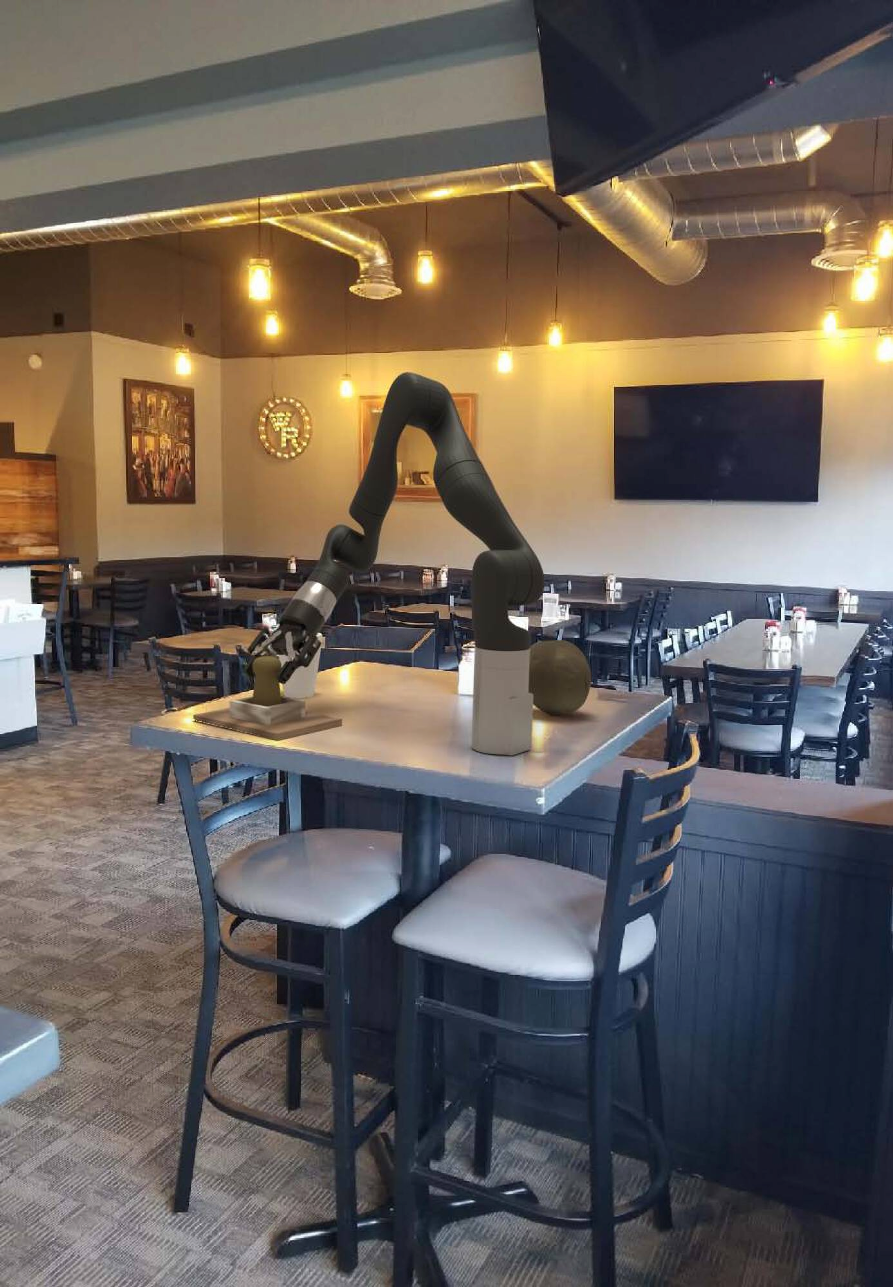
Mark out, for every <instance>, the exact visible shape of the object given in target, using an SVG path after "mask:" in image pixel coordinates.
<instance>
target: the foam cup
mask: <svg viewBox="0 0 893 1287" xmlns="http://www.w3.org/2000/svg"><path fill="white" fill-rule="evenodd" d="M316 636H317V637H318V639H319V640H320V641H321V643H322V644H321V646H320V648H319V649H318V651H317V653H316V654H315V656H314V658H313V659H312V661H311V663H310V665H309V666H308V667H304V666H300V668H298V669H296V670H295V671H294V673H293V674H292V676H291V677H290V679H289V680H288V681H287V682H286V683H285V684H282V693H283V696H284V697H289V698H294V699H307V698H306V697H308V698H312V697H314V696H315V691H316V684H317V678H318V673H319V672H318V671H319V664H320V656H321V649H322V646H323V634H322V633H321V632H318V634H317V635H316ZM306 657H307V654H306V655H305V658H306ZM278 659H279V660H280V662H281V665H282V666H283V665H284V663H285V662H286V661H289V660H288V656H286V655H278ZM282 666H281V668H282Z"/></svg>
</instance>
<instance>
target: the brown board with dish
mask: <svg viewBox="0 0 893 1287" xmlns="http://www.w3.org/2000/svg"><path fill="white" fill-rule="evenodd" d="M252 699H253V696H249V697H244V698H238V699H231V700H229V707H228V708H227V707H226V708H222V709H217V710H216V709H215V710H212V711H206V712H201V713H195V714H193V715H192V716H193V718H192V719H195V720H197V721H202V722H205V723H210V724H214V725H217V726H223V727H227V728H232V729H234V730H239V731H242V732H247V733H252V734H255V735H259V736H258V737H260V736H261V737H260V738H264V737H266V738H265V739H268V738H269V739H270V740H273V739H274V740H273V741H282V739H283V740H286V739H291V738H295V737H298V736H297V735H300V736H303V734H304V735H306V734H305V733H308V734H312V733H317V732H320V731H319V730H321V731H324V729H325V730H328V729H327V728H329V729H332V728H333V729H334V728H337V727H341V726H343V718H339V717H334V716H329V715H324V714H319V713H314V712H309V711H306V700H304V699H300V698H290V697H285V696H284V695H281V700H282V704H278V705H273V706H268V707H265V706H261V705H256V704H252ZM336 726H337V727H336ZM234 730H233V731H234ZM242 732H241V733H242ZM311 732H312V733H311ZM247 733H246V734H247ZM255 735H254V736H255ZM290 737H291V738H290Z"/></svg>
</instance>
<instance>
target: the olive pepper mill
mask: <svg viewBox="0 0 893 1287" xmlns="http://www.w3.org/2000/svg"><path fill="white" fill-rule="evenodd" d="M252 666H253V672H254V673H255V675H254V685H253V693H252V697H253V699H252V704H256V705H261V706H265V707H268V706H273V705H278V704H282V700H281V696H282V692H281V683H280V682H279V681H278V680H277V679H276V675H277V674H278V672H279V671H280V669H281V666H282V665H281V662H280V660H279V657H277V656H275V657H271V656H263V657H258V658H256V659H255V660H254V661H253V665H252Z"/></svg>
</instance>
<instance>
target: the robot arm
mask: <svg viewBox="0 0 893 1287" xmlns="http://www.w3.org/2000/svg"><path fill="white" fill-rule="evenodd" d="M381 411H382V412H381V414H380V418H379V421H378V426H377V428H376V433H375V436H374V439H373V444H372V448H371V451H370V456H369V459H368V461H367V462H368V463H367V465H366V468H365V471H364V474H363V476H362V479H361V480H360V483H359V485H358V486H357V487H358V488H357V490H356V492H355V495H354V496H353V498H352V501H351V503H350V504H349V509H348V513H349V516H350V517H351V518H352V519H353V520H354V521H355V522H356V523H357V524H359V526H360V527H361V528H362V529H363V530H362V531H363V533H361V532H359V531H357V530H356V529H353V528H352V527H350V526H347V525H345V524H337V525H335V526H333V527H332V528H330V530H329V531H328V533H327V535H326V537H325V540H324V544H323V547H322V551H321V554H320V557H319V558H318V562H317V563H316V566H315V567H314V569H313V570H312V572H311V574H310V575H309V577H308V578H307V580H306V581H305V582H304V584H303V585H301V587H299V589H298V590H297V592H296V593H295V595H294V596H293V597H292V599H291V600H290V602H289V603H288V605H287V606H286V607H285V609H284V610H283V612H282V614H281V615H280V617H279V625H278V627H277V628H276V629H274V630H270V629H269V628H268V627H267V626H265V627H262V629H261V630H260V632H258V634H257V635H256V637H255V638H254V639H253V641H252V642H251V643H250V645H249V646H248V647H247V649H246V650H247V652H248V653H249V655H250V656H251V657H250V659H249V660H248V662H247V663H246V664H245V666H244V668H243V674H244V675H245V676H246V678H250V679H253V677H255V676H256V675H255V673H254V672H253V666H252V665H253V661H254V660H255V659H256V658H258V657H263V656H271V657H277V656H279V655H286V656H288V660H289V661H286V662H285V663H284V665H283V666H282V668H281V669H280V671H279V672H278V674H277V675H276V679H277V680H278V681H279V684H280V685H281V684H285V683H286V682H287V681H288V680H289V679H290V677H291V676H292V674H293V673H294V671H295V670H296V669H298V668H300V666H304V667H308V666H309V665H310V663H311V661H312V659H313V658H314V656H315V654H316V653H317V651H318V649H319V648H320V646H321V644H322V645H323V642H322V643H321V641H320V640H319V639H318V637H317V636H316V635H317V634H318V633H320V631H321V629H322V628H323V626H324V625H325V623H326V622H327V620H328V618H330V616H331V614H332V612H333V610H334V608H335V606H336V604H337V602H338V601H339V600H340V598H341V597H342V596H343V594H344V592H345V590H346V588H347V587H348V585H349V580H350V579H349V578H350V577H349V576H348V574H347V573H346V571H345V569H343V568H342V567H341V566H340V565H338V564H337V563H336V562H335V561H337V562H339V563H340V564H342V565H344V566H346V567H348V568H349V569H351V570H353V571H355V572H357V573H365V572H366V571H368V570H370V569H371V568H372V567H373V566H374V565H375V562H376V559H377V557H378V551H379V544H380V543H379V542H380V535H381V532H382V527H383V523H384V520H385V518H386V516H387V513H388V511H389V510H390V507H391V505H392V504H393V501H394V498H395V496H396V494H397V493H396V492H397V490H398V484H399V472H398V471H399V470H398V460H397V458H398V457H397V455H398V444H399V441H400V438H401V436H402V434H403V431H404V430H405V428H406V426H409V427H412V428H416V429H418V430H419V429H420V430H422V431H423V432H425V433H426V435H427V436H428V437H429V439H430V441H431V444H433V447H434V449H435V451H436V456H435V459H434V460H435V461H434V463H433V464H434V465H433V469H432V479H433V484H434V486H435V488H436V491H437V494H438V495H439V497H440V499H441V501H442V503H443V505H444V507H445V509H446V510H447V512H448V513H449V514H450V516H451V517H453V519H455V521H456V522H458V523H459V524H460V525H461V526H463V527H464V528H465V529H466V530H468V531H469V532H470V533H471V534H472V535H474V536H475V537H476V538H478V539H479V540H480V541H481V542H482V543H483V544H484V545H485V546H486V547H487V548H488V550H484V551H482V552H481V553H479V554H478V556H476V558H475V559H474V562H473V566H472V571H471V575H470V576H471V577H470V578H471V579H470V593H471V594H470V597H471V599H470V600H471V627H472V633H473V636H474V655H473V656H474V662H473V688H472V690H473V692H472V721H471V728H472V729H471V748H472V749H473V750H474V751H476V752H480V753H483V754H489V755H490V754H491V755H507V756H515V755H518V754H521V753H523V752H526V751H529V750H532V741H533V740H532V738H533V715H534V705H533V694H532V693H528V692H529V667H530V646H531V645H532V644H531V642H532V638H531V633H530V631H529V630H528V629H526V628H523V627H520V626H518V625H516V624H515V623H513V622H512V621H511V620H510V617H509V610H508V609H509V607H519V606H521V607H523V606H529V605H532V604H535V603H536V602H538V601H539V600H540V599H541V597H542V596H543V593H544V590H545V582H546V581H545V574H544V570H543V567H542V564H541V561H540V560H539V558H538V557H537V555H536V553H535V551H534V550H533V548H532V547H531V545H530V544H529V543H528V541H527V539H526V538H525V537H524V535H523V533H522V532H521V531H520V530H519V528H518V526H517V525H516V523H515V522H514V521H513V518H512V517H511V516H510V513H509V511H508V509H507V508H506V507H505V505H504V503H503V501H502V499H501V498H500V496H499V494H498V491H497V490H496V488H495V486H494V483H493V481H492V480H491V477H490V476H489V474H488V472H487V469H486V468H485V465H484V464H483V463H482V460H481V459H480V458H479V456H478V454H477V452H476V450H475V448H474V446H473V444H472V442H471V440H470V438H469V436H468V434H467V432H466V430H465V428H464V426H463V423H462V419H461V418H460V415H459V412H458V408H457V406H456V404H455V401H454V399H453V396H452V394H451V392H450V390H449V389H448V388H447V387H446V385H444V384H443V383H441V382H440V381H437V380H434V379H432V378H429V377H426V376H423V375H421V374H417V373H414V372H409V371H406V372H403V373H400V374H399V375H397V377H395V378H394V380H393V382H392V383H391V385H390V387H389V389H388V392H387V395H386V397H385V400H384V403H383V407H382V410H381ZM269 646H270V647H271V648H270V647H269ZM257 647H258V648H257ZM321 647H322V646H321ZM263 652H265V653H264V654H263ZM306 654H307V657H306V658H305V655H306Z"/></svg>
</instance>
